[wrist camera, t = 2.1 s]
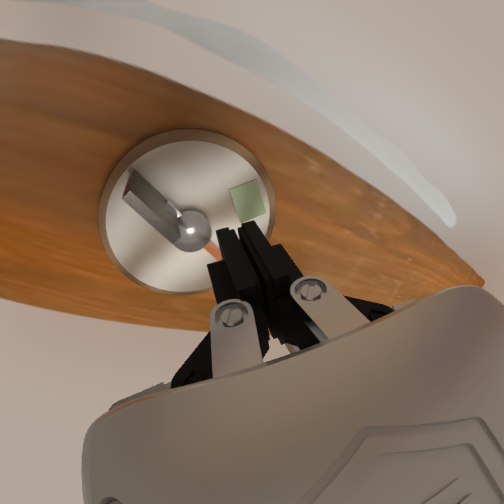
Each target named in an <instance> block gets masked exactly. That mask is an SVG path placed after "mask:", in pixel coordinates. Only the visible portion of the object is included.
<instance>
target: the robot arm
mask: <svg viewBox="0 0 504 504" xmlns="http://www.w3.org/2000/svg"><path fill="white" fill-rule="evenodd" d="M237 229H238V235H239V238H238V236H237V234H236V232H235V230H234V229H232V230H229V228H228V227H226V228H222V229H219V230H216V235H217V239H218V243H219V247H220V252H221V256H222V260H220V261H217V262H213V263H210V264H207V268H208V272H209V276H210V279H211V283H212V287H213V290H214V294H215V297H216V301H217V306H216V307H214V308H213V310H212V312H211V315H210V331H209V333H208V334H207V335H206V337H205V338H204V339H203V340H202V342H201V343H200V344H199V345H198V347H197V348H196V349H195V350H194V352H193V353H192V354H191V355H190V356H189V358H188V359H187V360H186V361H185V363H184V364H183V365H182V366H181V368H180V369H179V370H178V371H177V373H176V374H175V376H174V377H173V379H172V381H171V382H169V383H168V384H164V383H163V382H162V383H160V384H157V385H155V386H153V387H151V388H148V389H146V390H144V391H142V392H139V393H137V394H134V395H132V396H129V397H127V398H125V399H122V400H119V401H118V402H116V403H114V404H113V405H112V406H111V408H110V409H109V411H108V412H106V413H104V414H103V415H101V416H100V417H99V418H97V419H96V420H95V421H94V422H93V423H92V424H91V426H90V427H89V429H88V431H87V433H86V435H85V439H84V444H83V451H82V490H83V500H84V504H504V305H503V304H502V303H501V302H500V301H499V300H498V299H497V298H495V297H494V296H493V295H492V294H490V293H489V292H488V291H486V290H484V289H483V288H481V287H478V286H473V285H463V286H455V287H451V288H447V289H443V290H441V291H438V292H435V293H433V294H431V295H428V296H426V297H423V298H419V299H415V300H410V301H406V302H402V303H397V304H393V305H392V308H390V307H388V306H386V305H383V304H379V303H374V302H370V301H365V300H361V299H356V298H352V297H347V296H343V295H342V294H341V293H340V292H338V291H337V290H336V289H335V288H334V287H333V286H332V285H331V284H330V283H329V282H328V281H326V280H325V279H323V278H321V277H318V276H305V277H304V276H303V275H302V273H301V272H300V270H299V269H298V267H297V266H296V265H295V263H294V262H293V260H292V259H291V258H290V256H289V255H288V253H287V252H286V250H285V249H284V248H283V246H282V245H281V244H277V245H274V246H271V245H270V243H269V242H268V240H267V239H266V237H265V236H264V234H263V233H262V231H261V230H260V228H259V227H258V225H257V224H256V222H255V221H254V220H252V221H249V222H245V223H241V227H239V228H237ZM268 328H269V331H270V333H271V335H272V337H273V338H274V339H275V338H278V339H279V341H280V343H281V345H282V344H285V343H287V344H291V345H294V349H295V352H294V353H291V354H289V355H286V356H283V357H280V358H277V359H274V360H271V361H268V362H265V363H263V358H264V356H265V354H266V353H267V351H268V349H269V344H268V341H269V340H270V338H269V331H268Z"/></svg>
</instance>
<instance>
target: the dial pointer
mask: <svg viewBox="0 0 504 504" xmlns="http://www.w3.org/2000/svg"><path fill="white" fill-rule="evenodd" d="M122 199H123V200H124V201H125V202H126V203H127V204H128V205H129V206H130V207H131V208H132V209H133V210H135V211H136V212H137V213H138V214H139V215H140V216H141V217H142V218H143V219H145V220H146V221H147V222H148V223H149V224H150V225H151V226H152V227H154V228H155V229H156V230H157V231H158V232H159V233H160V234H162V235H163V236H164V237H165V238H166V239H167V240H168V241H170V242H171V243H172V244H173V245H174V246H175V247H176V248H177V249H179V250H181V251H184V252H196V251H199V250H201V249H203V248H204V249H205V250H206V251H208V252H209V253H210V254H211V255H212V256H213V257H214V258H215V259H216V260H218V261H220V260H222V256H221V252H220V251H219V250H218V249H217V248H216V247H214V246H213V245H212V244H211V243H210V242H209V241H210V239H211V236H212V229H211V226H210V223H209V221H208V218H207V216H206V215H205V214H204V213H203V212H202V211H200V210H198V209H195V208H186V209H183V210H179V209H178V208H177V207H176V206H175V205H174V204H173V203H172V202H171V201H170V200H169V199H167V200H166V199H165V198H164V197H163V196H162V195H161V194H160V193H159V192H158V191H157V190H156V189H155V188H154V187H153V186H152V185H151V184H150V183H149V182H148V181H147V180H146V179H145V178H144V177H143V176H142V175H141V174H140V173H139V172H138V171H137V170H135V171H134V172H133V173H132V174H131V175H130V176H129V177H128V180H127V183H126V187H125V190H124V193H123V196H122Z"/></svg>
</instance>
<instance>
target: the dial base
mask: <svg viewBox="0 0 504 504" xmlns="http://www.w3.org/2000/svg"><path fill="white" fill-rule="evenodd" d="M135 170H137V171H138V172H139V173H140V174H141V175H142V176H143V177H144V178H145V179H146V180H147V181H148V182H149V183H150V184H151V185H152V186H153V187H154V188H155V189H156V190H157V191H158V192H159V193H160V194H161V195H162V196H163V197H164V198H165V199H166V200H167V199H169V200H170V201H171V202H172V203H173V204H174V205H175V206H176V207H177V208H178V209H179V210H183V209H186V208H195V209H198V210H200V211H202V212H203V213H204V214H205V215H206V216H207V218H208V221H209V223H210V226H211V229H212V236H211V239H210V241H209V242H210V243H211V244H212V245H213V246H214V247H216V248H217V249H218V250H219V251H220V247H219V243H218V239H217V235H216V230H219V229H222V228H226V227H228V228H229V230H232V229H234V230H235V232H236V234H237V236H238V238H239V235H238V229H237V228H239V227H241V223H245V222H249V221H252V220H254V221H255V222H256V224H257V225H258V227H259V228H260V230H261V231H262V233H263V234H264V236H265V237H266V239H267V240H268V241H269V239H270V236H271V234H272V230H273V227H274V223H275V215H276V201H275V194H274V190H273V186H272V183H271V181H270V178H269V176H268V174H267V172H266V171H265V169H264V168H263V166H262V165H261V163H260V162H259V161H258V160H257V159H256V157H255V156H254V155H253V154H252V153H250V152H249V151H248V150H247V149H246V148H244V147H243V146H242V145H240V144H239V143H237V142H236V141H234V140H233V139H231V138H229V137H227V136H225V135H222V134H220V133H218V132H214V131H210V130H206V129H199V128H180V129H174V130H168V131H165V132H162V133H158V134H156V135H154V136H151V137H149V138H147V139H145V140H144V141H142V142H141V143H139V144H137V145H136V146H135V147H133V148H132V149H131V150H130V151H129V152H128V153H126V154H125V155H124V157H123V158H122V159H121V160H120V161H119V162H118V164H117V165H116V167H115V168H114V170H113V171H112V173H111V175H110V177H109V178H108V180H107V183H106V185H105V187H104V189H103V192H102V195H101V199H100V203H99V211H98V227H99V232H100V237H101V240H102V243H103V246H104V249H105V251H106V253H107V255H108V256H109V258H110V259H111V261H112V262H113V264H114V265H115V266H116V267H117V268H118V269H119V270H120V272H121V273H123V274H124V275H125V276H126V277H127V278H129V279H130V280H132V281H133V282H135V283H136V284H138V285H140V286H142V287H144V288H146V289H149V290H152V291H155V292H159V293H163V294H170V295H192V294H199V293H204V292H208V291H211V290H213V287H212V283H211V279H210V276H209V272H208V268H207V264H210V263H213V262H217V261H218V260H216V259H215V258H214V257H213V256H212V255H211V254H210V253H209V252H208V251H206V250H205V249H204V248H203V249H201V250H199V251H196V252H184V251H181V250H179V249H177V248H176V247H175V246H174V245H173V244H172V243H171V242H170V241H168V240H167V239H166V238H165V237H164V236H163V235H162V234H160V233H159V232H158V231H157V230H156V229H155V228H154V227H152V226H151V225H150V224H149V223H148V222H147V221H146V220H145V219H143V218H142V217H141V216H140V215H139V214H138V213H137V212H136V211H135V210H133V209H132V208H131V207H130V206H129V205H128V204H127V203H126V202H125V201H124V200H123V199H122V196H123V193H124V190H125V187H126V183H127V180H128V177H129V176H130V175H131V174H132V173H133V172H134V171H135Z"/></svg>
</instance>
